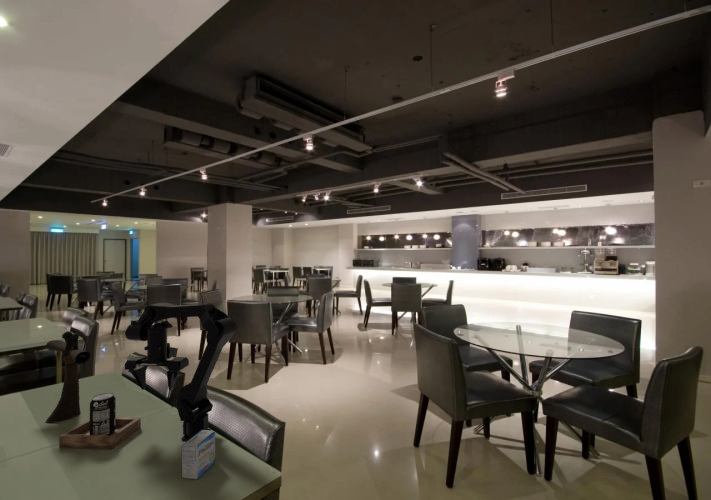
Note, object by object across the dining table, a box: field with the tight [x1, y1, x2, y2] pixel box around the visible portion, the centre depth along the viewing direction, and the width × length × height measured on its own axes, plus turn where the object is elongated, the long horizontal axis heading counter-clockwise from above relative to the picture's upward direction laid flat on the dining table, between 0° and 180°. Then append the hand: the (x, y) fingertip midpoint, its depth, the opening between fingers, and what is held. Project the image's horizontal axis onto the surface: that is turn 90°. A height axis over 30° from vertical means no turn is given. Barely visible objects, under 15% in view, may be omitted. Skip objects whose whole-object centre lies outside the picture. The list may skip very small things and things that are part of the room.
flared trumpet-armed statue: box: [45, 330, 91, 424], centre depth 124 cm, size 32×10×30 cm, turn 55°
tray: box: [58, 416, 142, 451], centre depth 109 cm, size 16×12×4 cm
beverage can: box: [89, 391, 117, 435], centre depth 109 cm, size 7×7×12 cm
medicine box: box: [181, 430, 216, 480], centre depth 93 cm, size 8×4×9 cm, turn 168°
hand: (157, 389), depth 114 cm, fingers open, 9 cm apart
